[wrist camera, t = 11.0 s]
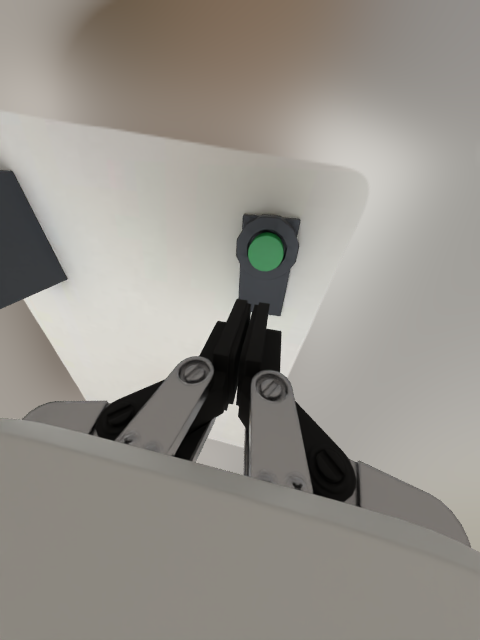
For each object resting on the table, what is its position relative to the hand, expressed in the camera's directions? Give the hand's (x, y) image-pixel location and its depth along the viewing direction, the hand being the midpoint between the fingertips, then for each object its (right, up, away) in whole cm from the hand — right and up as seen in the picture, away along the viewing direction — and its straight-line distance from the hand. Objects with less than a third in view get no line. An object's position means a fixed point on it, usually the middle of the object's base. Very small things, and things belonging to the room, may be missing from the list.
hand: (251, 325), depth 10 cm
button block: (+3, +7, +14) cm, 16 cm away
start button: (+2, +8, +11) cm, 13 cm away
